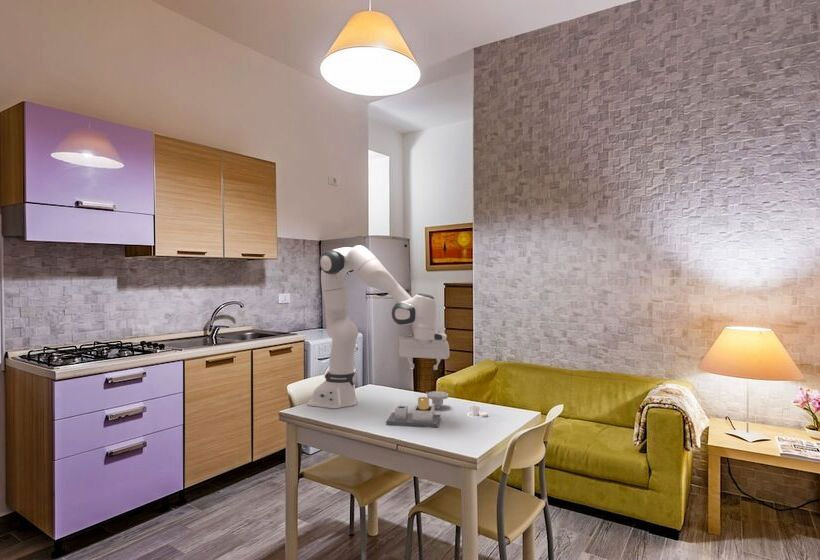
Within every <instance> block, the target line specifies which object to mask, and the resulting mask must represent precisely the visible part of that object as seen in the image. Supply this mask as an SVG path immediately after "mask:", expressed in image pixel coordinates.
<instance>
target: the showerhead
mask: <svg viewBox="0 0 820 560" xmlns="http://www.w3.org/2000/svg"><path fill="white" fill-rule="evenodd" d="M425 394H426V397H428V398H429V400H431V403H432V405H433V406H435V409H436V408H437V409H438V410H439V409H441V406H442V405H443V404H444V400H446V399H448V398H449V393H447V392H446V391H443V390H439V391H438V390H434V391H433V390H432V391H425Z"/></svg>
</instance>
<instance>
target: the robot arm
mask: <svg viewBox="0 0 820 560" xmlns="http://www.w3.org/2000/svg"><path fill="white" fill-rule="evenodd" d="M319 267H320V268H321V271H320V283H321V284H320V285H321V291H322V296H323V302H324V308H325V323H326V326H325V327H326V333H327V335H328V337H329V338H330V339H332V340H331V347H330V348H331V349H330V354H329V371H327V373H326V374H325V375H324V378H325V380H324V381H323V382H322V383H321V384H319V385H318V386H317V387H315V389H313V393H312V397H311V398H310V399H309V400H308V401H307V404H306V405H307V406H309V407H318V408H325V409H335V410H336V409H340V408H346V407H352V406H355V405H356V404H358V400H357V396H356V389H355V388H356V387H355V383H356V375H355V374H356V373H355V366H354V364H355V350H356V346H357V345H356V343H357V338H358V336H359V330H358V326H357V325H356V323H355V322H353V320H350V313H349V312H350V310H349V309H350V300H349V294H348V290H347V289H348V287H347V282H346V274H347V273H353V272H354V273H355V275H357V277H358V278H359V279H360V280H361V281H362V283H364V284H365V285H366V286H368V287H370V288H373V289H376V290H381V291H383V292H385V293H387V294H388V295H390V297H392V299H394V301H396V303H395V304H394V305H393V306H392V309H391V317H392V318H391V319H392V320H393V321H394V322H395V323H396V324H397V325H401V326H408V325H413V333H402V334H400V335H399V337H398V343H399V346H398V356H399V357H400V358H406V359H407V363H408V364H409V369H411V370H414V369H415V363H413V361H412V358H414V359H415V358H417V359H419V358H420V359H434V360H435V359H436V364H434V365H433V371H437V370H438V366H439V364H440V362H441V360H448V359H449V357H450V345H449V342H448V340H447V337H448V336H447V334H446V333H444V332H441V331H439V330H437V329H436V328H437V325H436V318H437V307H436V306H437V303H436V299H435V298H434V296H432V295H430V294H426V293H416V294H415V295H414V296H412V295H411V294H410V293H409V292H408V291H407V290H406V288H404V286H403V285H401V283H400V282H399V281H398V280H396V278H394V276H393V275H392V274H391V273H390V272H389V271H388V270H387V268H386V267H385V266H384V265H383V264H382V263H381V261H380V260H379V259H378V258H377V257H376V256H375V254H374V253H372V251H370V250H369V249H368V248H367V247H365V246H364V245H362V244H359V245H358V244H357V245H354V246H344V247H343V246H342V247H339V248H338V247H337V248H334V249H329V250H326V251H324V252H323V253H321V255H320V257H319Z"/></svg>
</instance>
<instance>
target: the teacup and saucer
mask: <svg viewBox="0 0 820 560" xmlns="http://www.w3.org/2000/svg"><path fill="white" fill-rule="evenodd" d="M480 408H481V407H480V405H477V404H476V405H474V404H473V405H471V406H470V409H469V410H470V412H467V413H466V416H467V417H470V418H474V419H475V418H476V419H478V418H479V419H481V418H485V417H488V416H489V413H488V412H486V411H483V412H481V411H480ZM470 414H472V415H473V416H472V415H470Z"/></svg>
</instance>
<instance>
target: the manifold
mask: <svg viewBox="0 0 820 560" xmlns="http://www.w3.org/2000/svg"><path fill="white" fill-rule="evenodd" d="M435 409H436V408H435V405H429V411H423V410H418V404H416V405H414V407H413V409H412V413H409V406H408V405H396V407H395V409H394V412H391V413H390V415H389V416H388V418H387V419H386V420H385V426H398V427H415V428H430V429H432V428H433V429H435V428H437V429H438V426H439V425H440V424H439V423H440V420H441V414H435V411H436V410H435Z"/></svg>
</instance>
